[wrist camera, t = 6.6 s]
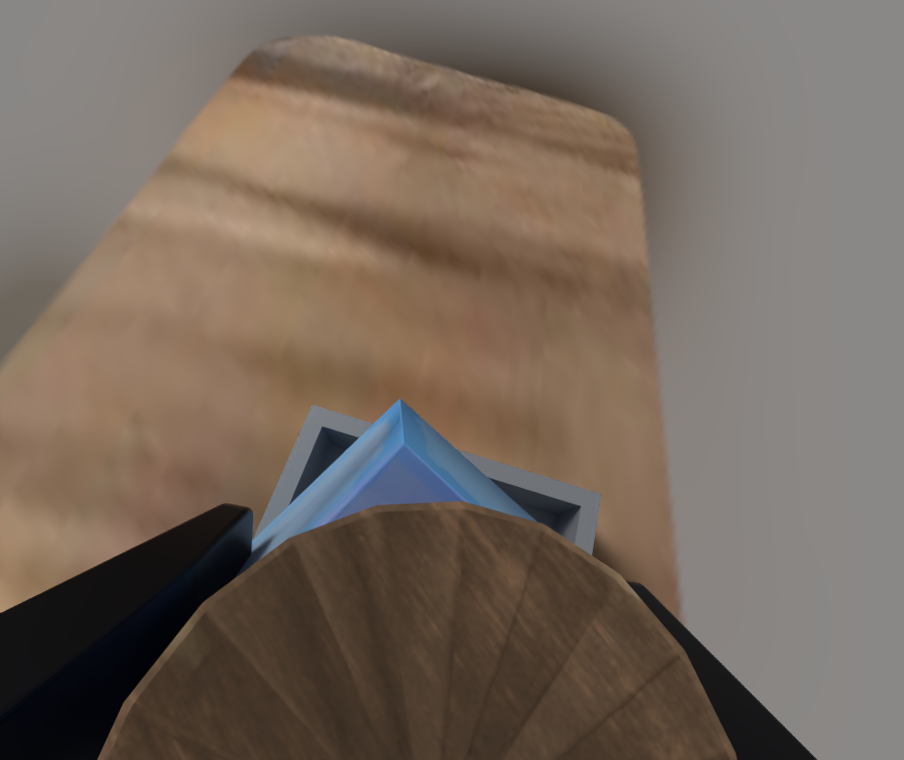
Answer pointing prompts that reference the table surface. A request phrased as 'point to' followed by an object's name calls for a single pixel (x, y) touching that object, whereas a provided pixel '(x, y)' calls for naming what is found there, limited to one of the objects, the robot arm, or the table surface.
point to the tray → (534, 493)
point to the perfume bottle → (418, 634)
